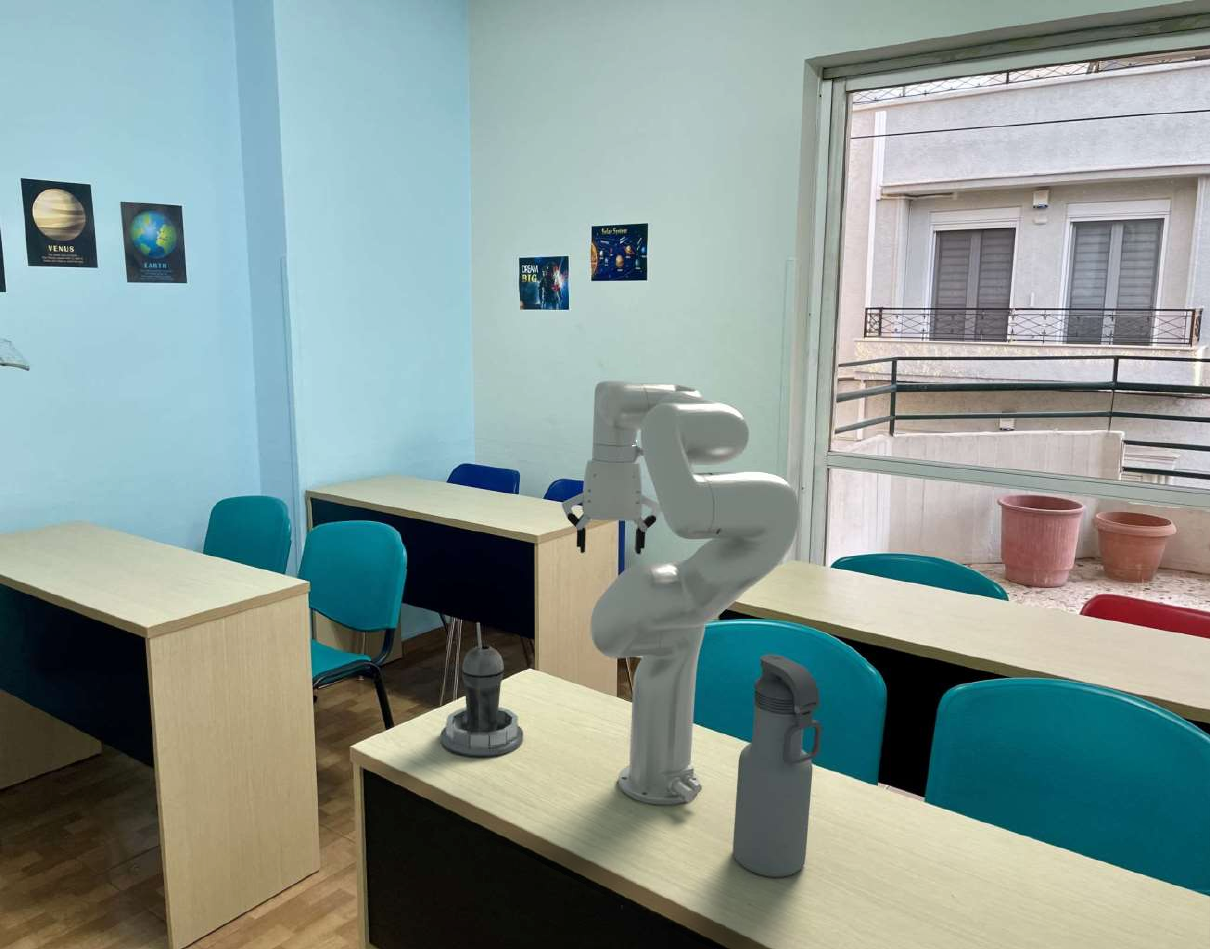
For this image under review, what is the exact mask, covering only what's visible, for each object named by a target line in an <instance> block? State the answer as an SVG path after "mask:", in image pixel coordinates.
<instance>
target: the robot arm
mask: <svg viewBox="0 0 1210 949" xmlns="http://www.w3.org/2000/svg"><path fill="white" fill-rule="evenodd" d="M593 398H594V401H593V403H594V404H593V428H592V429H593V430H592V453H591V454H592V455H591V459H587V462H586V466H585V471H584V478H583V489H582V493H579V494H577V495H575V496H573V497H571V498H569V499H567V500H565V501H563V502H561V508H562V509H563V513H564V514H565V516H566V518H567V519H568V521H569V522H570V523H571V524H572V525H573V526H574V527H575V528H576V547H577V548H580V549H579V550H580V554H585V552H586V535H587V534H586V533H587V532H586V527H585V526H587V525H588V523H590V521H591V520H593V521H594V520H595V521H621V522H623V521H625V522H627V521H628V522H631V521H632V522H633V523H635V525H637V528H636V529H635V541H634V542H635V545H634V550H635V554H636V555H641V554H642V549H643V550H644V549H645V544H646V532H647V531H648V529H649V528H651V527H652V526H653V524H654V523H656V522H657V519H658V517H659V516H660V514H661V513H662V515H663V518H664V521H665V522H666V525H667V527H668V528H669V529H670V530H671V532H672V533H673V534H674V535H676V536H678V537H680V538H683V539H686V540H706V539H708V541H706V542H705V543H704V544H702V545H701V546H700V547H699V548H698V549H697V551H695V552H694V553H693V555H692V556H690V557H689V558H687V559H684V560H683V559H682V560H677V561H668V562H653V563H642V564H637V565H633V566H630V567H628V568H626V569H625V570H623V571H622V572H621V573H620V574H619V575H618V576H617V577H616V578H615V579H614V580H613V582H612V583H611V584H610V585H609V586H608V588H606V590H605V591H604V593H603V594H601V596H600V597H599V598H598V600H597V602H596V603H595V606H594V607H593V610H592V613H591V616H590V626H589V630H590V635H591V636H590V637H591V640H592V643H593V645H594V646H595V648H596V649H597V650H598V651H599V653H600V654H602V655H604V656H605V657H607V658H611V659H625V658H633V657H641V659H640V661H639V663H638V665H637V666H636V669H635V673H634V676H633V685H632V701H631V702H632V703H631V708H632V709H631V723H630V724H631V726H630V742H629V743H630V746H629V765H627V766H626V767H624V768H623V769H622V770H621V771H620V772H619V775H618V786H619V788H620V789H621V791H622V792H623V793H625V795H627V796H629V797H630V798H632V799H634V800H637V801H639V802H642V803H646V804H651V805H658V806H659V805H661V806H662V805H666V806H668V805H676V804H680V803H681V804H682V803H684V802H686V803H691V802H693V800H694V799H695V797H696V795H697V794H699V793H700V792H701V791H702V790H703V788H702V786H703V785H701V784H700V779H699V776H697V774H696V773H695V772H694V770H695V767H694V766H693V765H692V764H691V762H692V746H693V726H694V711H695V694H696V680H697V670H698V662H699V661H698V660H699V655H700V650H701V646H702V643H703V639H704V636H705V630H706V625H707V624H709V623H710V622H712V621H714V620H715V619H716V618H717V617H719V616H720V615H721V614H722V613H723V612H724V611H725V610H726V609H728V608H729V607H730V606H732V604H734V603H735V602H736V601H737V600H738V599H739V598H741V596H742V595H743V594H745V593H746V592H747V591H749V590H750V589H751V588H752V587H754V586H755V585H756V584H758V583H759V582H760V581H761V580H763V579H765V577H767V575H769V574H770V573H771V572H772V571H774V570H775V568H777V566H778V565H779V564H780V563H781V562H782V561H783V560H784V558H785V557H786V555H787V554H788V553H789V550H790V548H791V546H792V544H793V541H794V539H795V537H796V536H795V535H796V532H797V529H798V525H799V524H798V523H799V516H800V515H799V514H800V513H799V512H800V511H799V510H800V508H799V501H798V496H797V494H796V491H795V489H794V488H793V487H792V486H791V484H790V483H789V482H788V481H787V480H784V479H783V478H781V477H780V476H777V475H774V474H770V473H768V472H767V473H766V472H761V471H717V472H694V470H693V468H692V466H716V465H717V466H718V465H722V464H726V463H729V462H731V461H734V460H735V459H737V458H738V457H740V455H741V454H743V452H744V451H745V449H746V447H747V445H748V443H749V436H750V434H749V433H750V430H749V426H748V423H747V422H746V420H745V418H744V417H743V415H742V414H741V413H740V412H739V411H737V410H736V409H734V408H733V407H731V406H729V405H727V404H724V403H721V402H718V401H715V400H710V399H707V398H703V396H702V395H701V393H700V391H699V390H697V389H696V388H692V387H688V386H684V385H680V384H675V383H656V382H655V383H652V382H651V383H649V382H648V383H636V382H635V383H634V382H631V381H624V380H603V381H599V382H598V383H597V384H596V386H595V387H594V396H593ZM639 430H640V445H641V447H639V445H638V431H639ZM640 457H644V458H643V459H644V461H645V465H646V468H647V471H648V473H649V476H650V479H651V483H652V485H653V488H654V491H655V495H656V497H657V498H656V499H657V500H658V502H657V501H655V500H653V499H651V498H649V497H647V496H646V495H643V481H642V469H641V462H640V461H637V460H638V459H639V458H640ZM579 504H581V507H582V512H583V513H582V515H580V517H578V516H577V515H576V514H575V513H574V512H573V509H572V508H573V507H575V506H577V505H579ZM643 505H644V506H646V507H647V508H650V509H651V512H650V514H649V515H648V516H646V518H645V519H643V518H642V514H643V513H642V512H643ZM709 539H710V540H709Z"/></svg>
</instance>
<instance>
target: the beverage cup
mask: <svg viewBox="0 0 1210 949" xmlns="http://www.w3.org/2000/svg"><path fill="white" fill-rule="evenodd" d="M480 624H481V623H480V622H476V634H477V642H478V643H477V644H478V645H477V646H475V647H473V648H471V650H469V651H468V652H467V653H466V655H465V657H464V659H463V661H462V667H461V670H460V671H461V673H462V679H463V680H462V681H463V684H464V694H465V706H466V707H465V708H466V710H467V722H468V729H469V732H472V733H489V732H494V731H496V726H497V716H498V707H499V704H500V696H501V686H502V685H501V684H502V681H503V678H504V673H505V667H504V660H503V656H501V654H500V653H499V652H498V650H496V648H494V647H491V646H489V645H485V644H482V634H481V625H480Z"/></svg>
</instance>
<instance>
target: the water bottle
mask: <svg viewBox="0 0 1210 949" xmlns="http://www.w3.org/2000/svg"><path fill="white" fill-rule="evenodd" d="M759 664H760V668H761V670H762V672H761V677H759V678H757V679H756V680H755V682H754V684H753V688H754V691H753V692H754V694H753V697H754V699H753V701H752V704H753V705H752V706H754V713H753V725H752V726H753V727H752V742H750V743H749V744H747V745H746V746H745V747H744V748H743V749H742V750H741V751H740V754H739V758H738V766H737V768H738V769H737V779H736V780H737V783H736V797H735V811H734V825H733V826H734V828H733V839H732V840H733V841H732V842H733V843H732V852H733V856H734V857H735V860H736V861H737V862H738V864H740V865H741V866H742V867H743V868H745V869H746V870H748V871H749V872H752V873H754V874H758V875H761V876H764V877H771V878H772V877H773V878H782V877H787V876H788V877H789V876H792V875H795V874H796V873H798V872H799V871H800V870H801V869H802V868H803V866H804V865H805V861H806V858H807V857H806V856H807V844H808V832H809V830H808V829H809V819H810V806H811V794H812V793H811V792H812V782H813V781H812V780H813V770H814V769H813V763H812V760H813V759H816V757H818V755H819V753H820V750H821V743H822V742H821V740H822V730H823V729H822V728H823V727H822V724H821V723H820V721H817V720H815V719H813V715H814V711H815V710H818V709H819V708H820V692H819V688H818V685H817V682H816V681H815V679H814V677H813V676H812V674H811V672H810V671H809V670H808V669H807V668H806V667H804V666H803V665H801V663H797V662H796V661H793V660H791V659H788V658H787V657H785V656H783V655H778V654H774V653H773V654H772V653H771V654H763V655H762V656H760V663H759ZM813 727H814V737H813V738H814V740H813V747H812V748H811V750H810V751H809V752H808V753H807V751H805V750H804V749H803V737H804V736H803V735H804V730H805V729H807V728H813Z"/></svg>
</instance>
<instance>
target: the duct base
mask: <svg viewBox="0 0 1210 949" xmlns="http://www.w3.org/2000/svg"><path fill="white" fill-rule="evenodd" d="M518 724H519V716H518V715H517V714H515V713H514V712H513V711H512V710H511V709H508V708H503V707H499V706H498V716H497V726H496V731H494V732H489V733H472V732H469V729H468V722H467V710H466V707H462V708H459V709H457V710H455V711H454V712H452V713H450V714H448V715H447V718H446V722H445V727H443V729H442V730H441V733H440V744H441V746H442V747H443V749H445V750H446V751H448V752H449V753H451V754H453V755H457V756H460V757H465V758H470V759H471V758H472V759H475V758H476V759H486V758H495V757H500V756H504V755H508V754H510V753H512V752H514V751H515V750H517V749H518V748H519V747H520V746H521V745H522V743H523V741H524V732H523V729H522V727H520V726H519V725H518Z"/></svg>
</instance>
